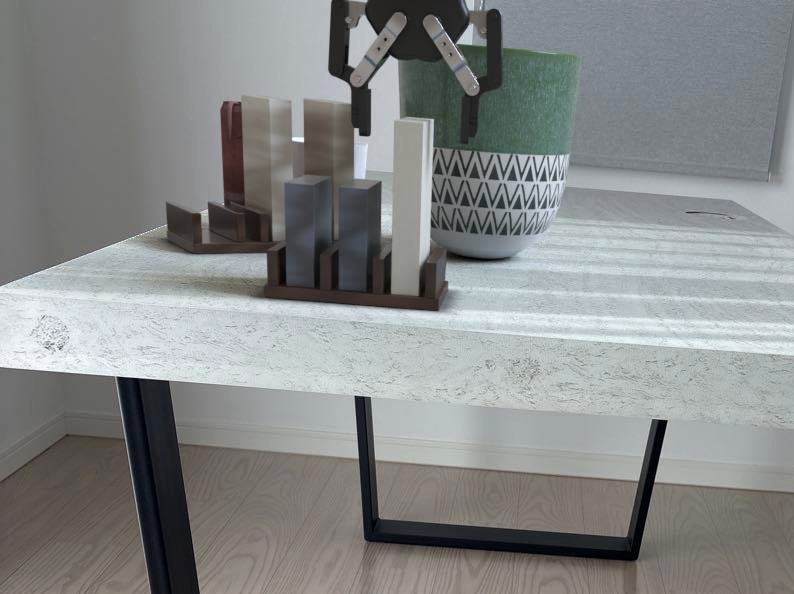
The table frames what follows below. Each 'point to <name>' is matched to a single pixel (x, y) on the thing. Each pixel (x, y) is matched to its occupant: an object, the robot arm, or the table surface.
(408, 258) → the white book
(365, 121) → the robot arm
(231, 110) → the dark red upright block
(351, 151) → the brown book rack
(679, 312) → the table surface
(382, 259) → the desk organizer with blocks
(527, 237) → the planter
